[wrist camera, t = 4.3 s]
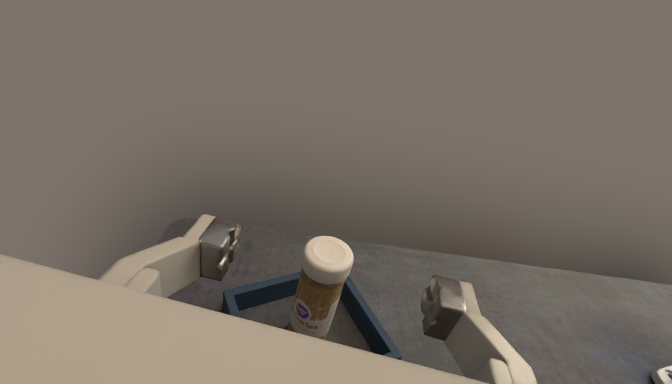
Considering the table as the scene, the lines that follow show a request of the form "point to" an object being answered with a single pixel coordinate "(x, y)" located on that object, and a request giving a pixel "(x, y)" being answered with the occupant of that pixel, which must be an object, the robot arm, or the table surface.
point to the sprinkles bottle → (320, 285)
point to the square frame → (288, 287)
